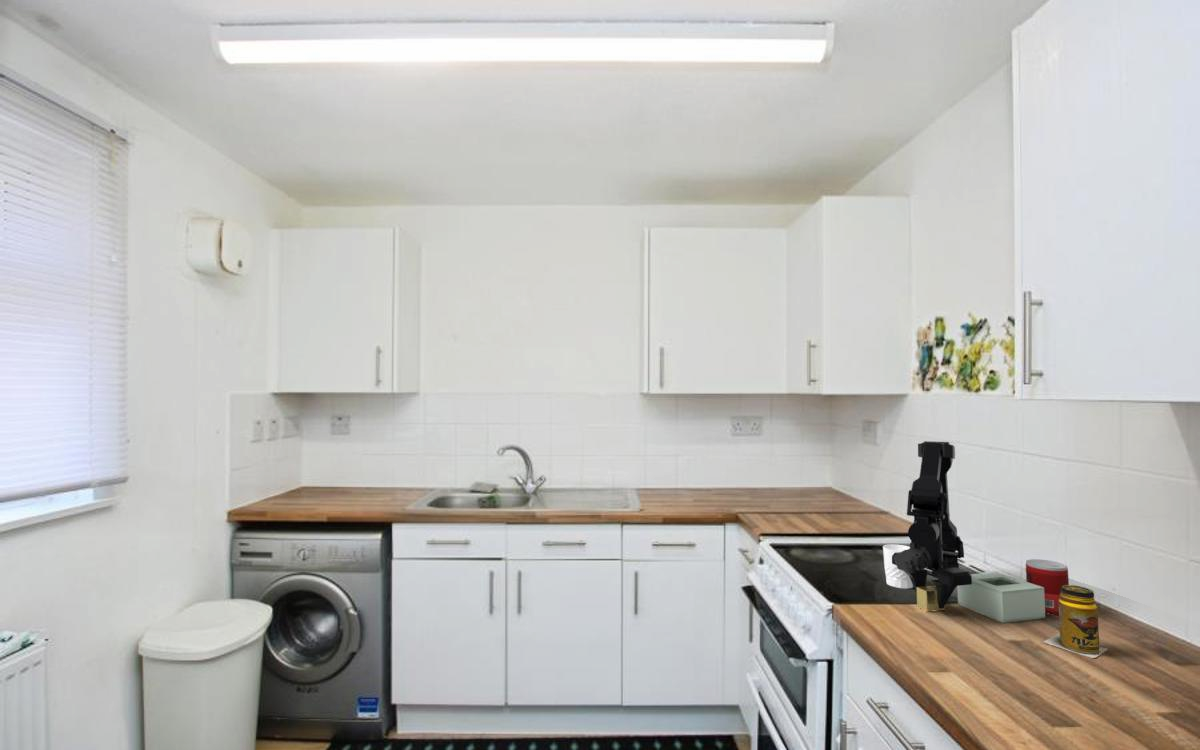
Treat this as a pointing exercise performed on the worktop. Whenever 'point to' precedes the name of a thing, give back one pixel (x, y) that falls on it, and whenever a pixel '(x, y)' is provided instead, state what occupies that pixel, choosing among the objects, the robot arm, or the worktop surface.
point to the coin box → (1003, 597)
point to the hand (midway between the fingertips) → (930, 603)
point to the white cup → (895, 568)
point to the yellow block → (927, 598)
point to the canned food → (1048, 580)
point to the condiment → (1078, 622)
